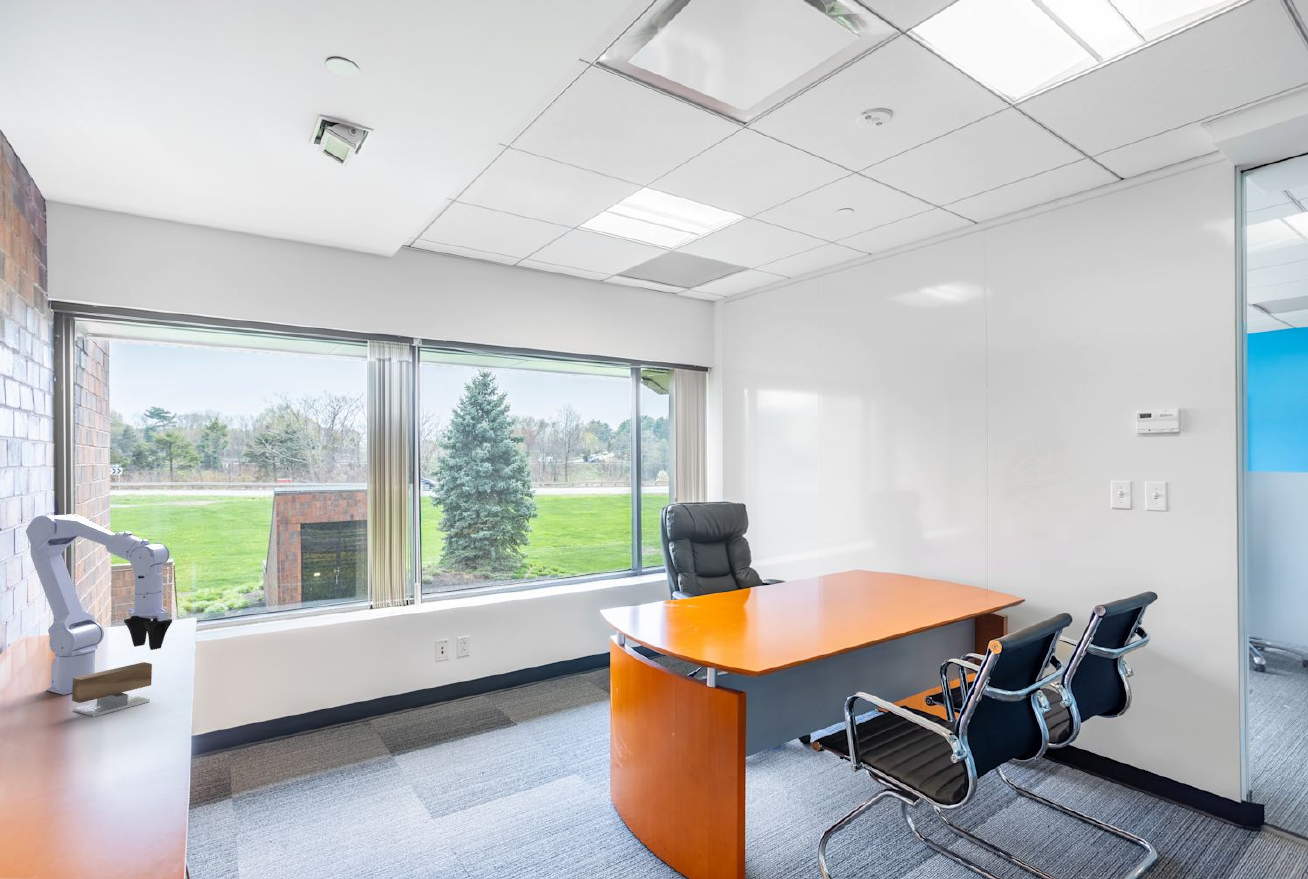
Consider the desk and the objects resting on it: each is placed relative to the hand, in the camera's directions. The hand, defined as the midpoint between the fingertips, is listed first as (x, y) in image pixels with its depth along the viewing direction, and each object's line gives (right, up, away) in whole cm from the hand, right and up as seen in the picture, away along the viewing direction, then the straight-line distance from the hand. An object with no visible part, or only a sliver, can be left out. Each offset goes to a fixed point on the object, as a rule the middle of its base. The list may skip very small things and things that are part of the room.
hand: (147, 647), depth 169 cm
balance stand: (+3, -9, -14) cm, 17 cm away
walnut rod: (+3, -6, -14) cm, 15 cm away
